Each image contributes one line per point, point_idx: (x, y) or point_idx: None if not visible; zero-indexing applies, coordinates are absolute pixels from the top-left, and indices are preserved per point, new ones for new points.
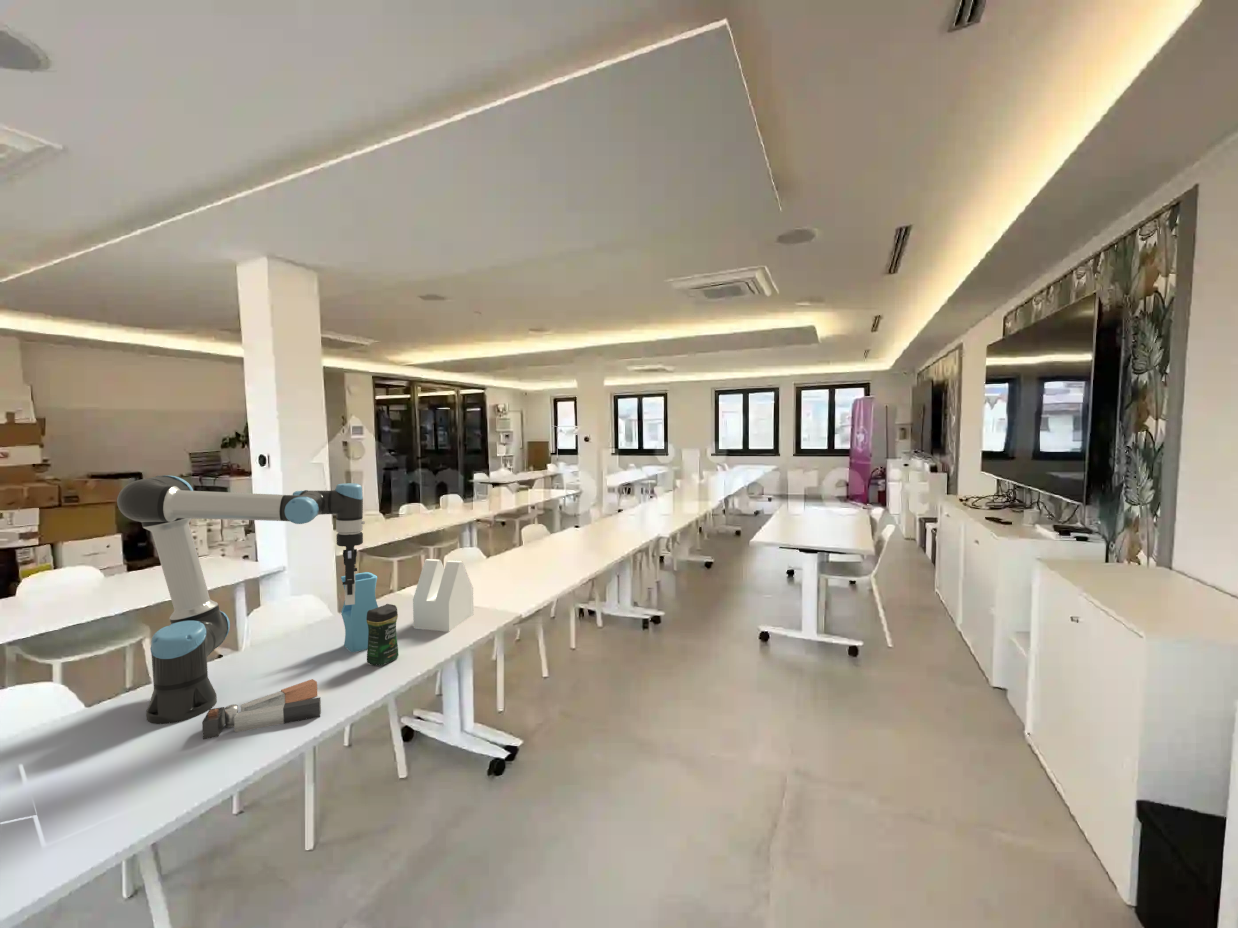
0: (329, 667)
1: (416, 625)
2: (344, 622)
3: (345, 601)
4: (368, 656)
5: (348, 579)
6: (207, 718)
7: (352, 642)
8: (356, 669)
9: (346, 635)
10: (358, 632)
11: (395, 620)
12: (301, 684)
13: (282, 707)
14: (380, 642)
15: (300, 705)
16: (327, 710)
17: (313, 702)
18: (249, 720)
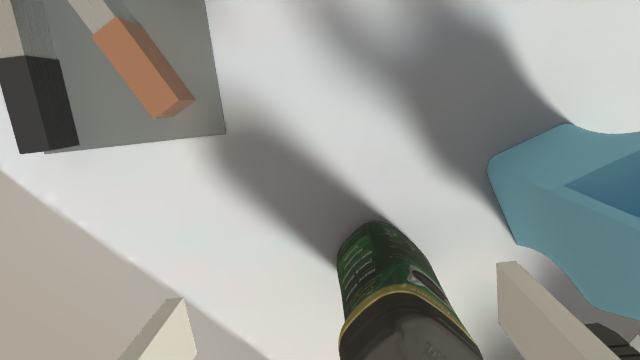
0: (381, 109)
1: (637, 350)
2: (625, 137)
3: (154, 317)
4: (361, 235)
5: (558, 351)
6: None
7: (508, 168)
8: (338, 194)
9: (574, 140)
10: (527, 197)
11: None
12: (144, 73)
13: (7, 54)
14: (342, 298)
15: (6, 105)
16: (95, 157)
17: (20, 137)
18: None
